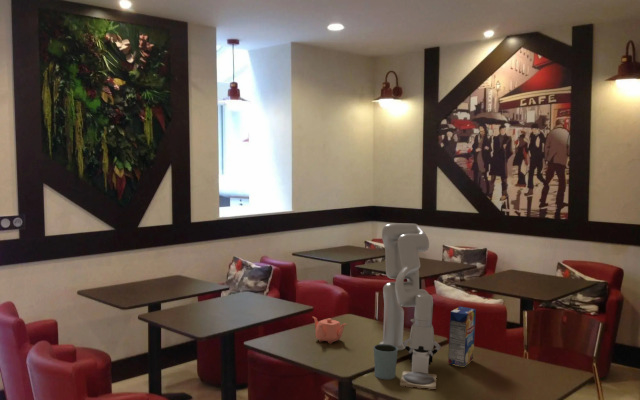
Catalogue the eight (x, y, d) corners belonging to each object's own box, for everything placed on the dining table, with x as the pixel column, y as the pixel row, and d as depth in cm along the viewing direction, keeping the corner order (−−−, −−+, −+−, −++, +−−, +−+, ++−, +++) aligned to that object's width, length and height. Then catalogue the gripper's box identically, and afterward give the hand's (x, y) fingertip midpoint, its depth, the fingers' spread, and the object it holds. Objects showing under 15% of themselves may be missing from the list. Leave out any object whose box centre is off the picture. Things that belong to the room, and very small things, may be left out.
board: (403, 373, 249) (403, 368, 249) (436, 377, 246) (436, 372, 246) (399, 385, 235) (400, 381, 235) (435, 390, 232) (435, 385, 232)
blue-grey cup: (390, 382, 239) (391, 353, 238) (368, 376, 244) (369, 348, 244) (400, 374, 248) (401, 346, 247) (379, 369, 253) (380, 342, 252)
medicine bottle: (428, 373, 249) (429, 346, 248) (411, 372, 251) (412, 344, 250) (428, 367, 256) (430, 341, 255) (412, 366, 258) (413, 339, 257)
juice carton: (457, 357, 272) (460, 306, 270) (473, 360, 268) (476, 309, 266) (447, 364, 262) (450, 311, 260) (464, 368, 258) (466, 314, 256)
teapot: (346, 344, 285) (347, 322, 284) (317, 345, 282) (318, 323, 281) (338, 335, 299) (339, 314, 298) (311, 336, 296) (312, 315, 295)
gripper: (401, 322, 250) (399, 363, 252) (443, 327, 246) (440, 368, 248) (403, 318, 257) (401, 357, 259) (443, 322, 254) (441, 362, 255)
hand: (420, 362), depth 253 cm, fingers closed on medicine bottle, 7 cm apart
